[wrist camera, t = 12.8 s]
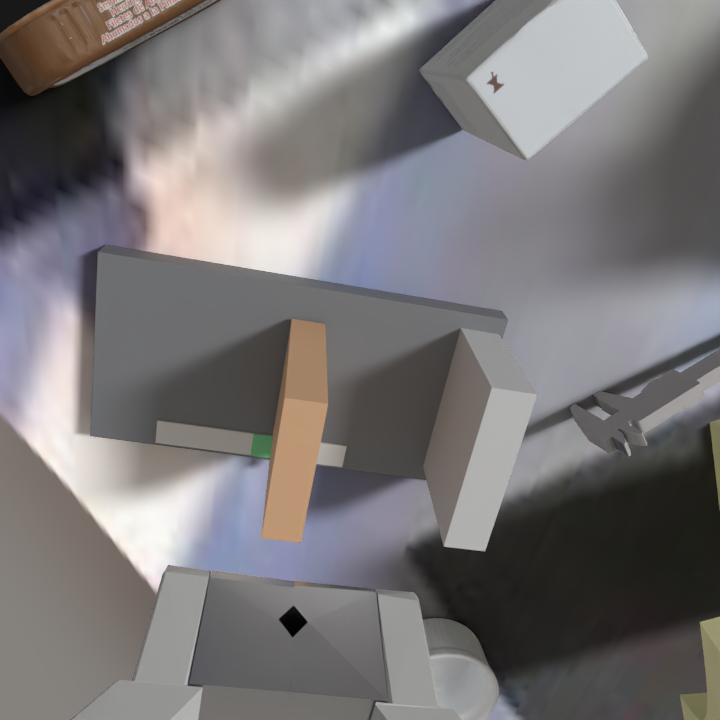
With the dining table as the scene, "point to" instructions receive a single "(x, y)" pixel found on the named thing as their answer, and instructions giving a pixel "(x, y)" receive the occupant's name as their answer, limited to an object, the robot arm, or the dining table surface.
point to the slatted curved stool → (708, 636)
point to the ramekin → (460, 669)
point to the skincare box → (532, 68)
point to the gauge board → (344, 376)
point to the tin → (84, 36)
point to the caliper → (646, 406)
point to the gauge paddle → (296, 432)
